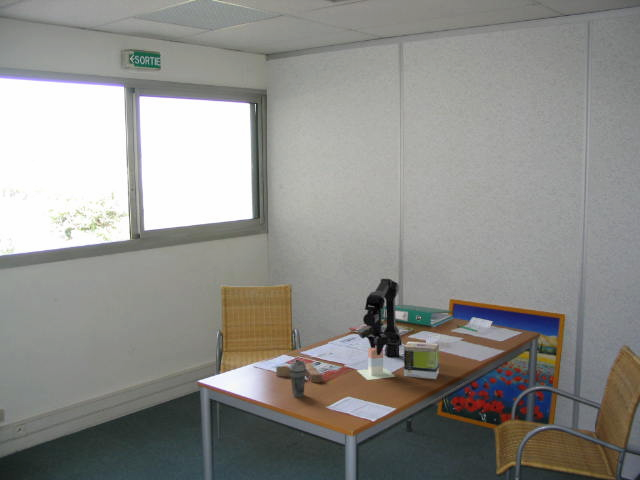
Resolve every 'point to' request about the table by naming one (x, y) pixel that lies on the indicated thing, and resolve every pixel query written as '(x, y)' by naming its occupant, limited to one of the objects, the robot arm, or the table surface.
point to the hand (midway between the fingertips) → (375, 352)
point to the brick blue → (375, 362)
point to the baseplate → (370, 377)
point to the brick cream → (375, 370)
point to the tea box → (421, 360)
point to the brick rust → (374, 353)
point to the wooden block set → (310, 374)
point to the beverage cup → (298, 377)
